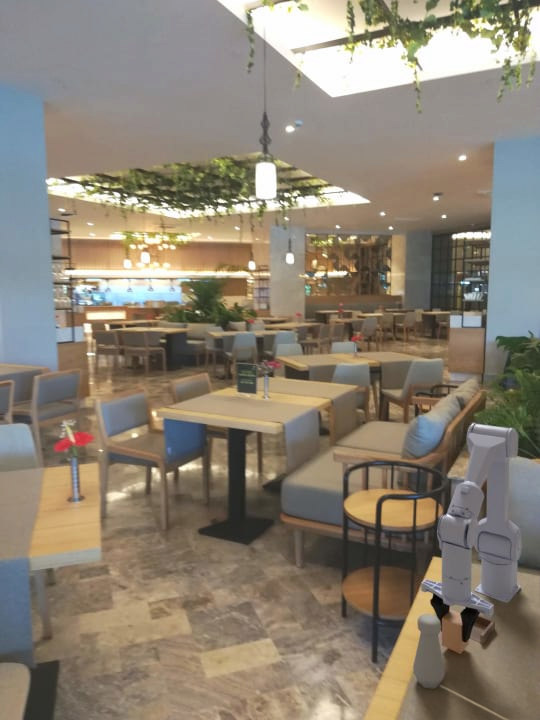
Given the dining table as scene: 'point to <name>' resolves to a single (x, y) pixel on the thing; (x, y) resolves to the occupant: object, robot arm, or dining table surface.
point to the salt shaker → (429, 653)
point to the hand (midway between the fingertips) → (455, 634)
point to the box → (482, 629)
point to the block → (453, 632)
